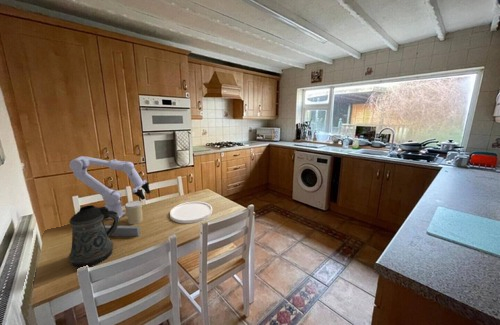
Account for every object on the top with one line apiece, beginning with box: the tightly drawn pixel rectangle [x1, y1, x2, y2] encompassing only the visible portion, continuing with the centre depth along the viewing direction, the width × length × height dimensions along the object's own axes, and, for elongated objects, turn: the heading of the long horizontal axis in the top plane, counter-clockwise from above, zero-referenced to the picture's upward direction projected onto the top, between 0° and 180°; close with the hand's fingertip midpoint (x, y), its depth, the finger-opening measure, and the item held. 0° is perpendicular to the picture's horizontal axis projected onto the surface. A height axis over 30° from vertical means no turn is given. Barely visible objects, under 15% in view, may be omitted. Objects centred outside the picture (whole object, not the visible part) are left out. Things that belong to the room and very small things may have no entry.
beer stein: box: [68, 204, 120, 269], centre depth 95 cm, size 16×19×25 cm
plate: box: [169, 200, 213, 224], centre depth 140 cm, size 28×28×2 cm
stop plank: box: [105, 225, 141, 237], centre depth 113 cm, size 20×2×5 cm, turn 90°
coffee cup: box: [124, 200, 143, 225], centre depth 127 cm, size 9×9×12 cm
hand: (146, 196), depth 137 cm, fingers open, 7 cm apart
